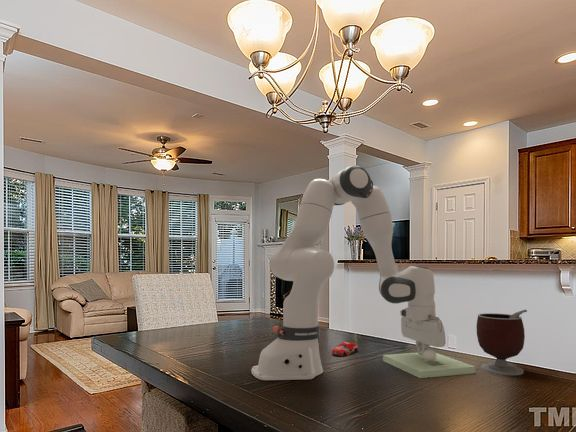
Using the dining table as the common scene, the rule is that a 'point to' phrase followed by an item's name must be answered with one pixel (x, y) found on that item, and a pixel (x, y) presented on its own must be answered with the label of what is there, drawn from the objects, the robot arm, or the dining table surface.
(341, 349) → the race car
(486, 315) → the mate gourd
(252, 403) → the dining table surface
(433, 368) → the mat
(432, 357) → the ball
